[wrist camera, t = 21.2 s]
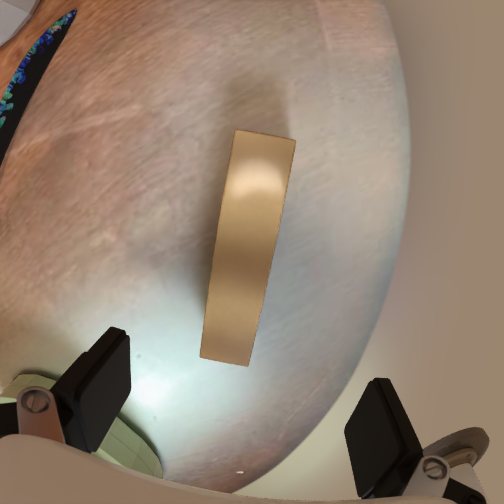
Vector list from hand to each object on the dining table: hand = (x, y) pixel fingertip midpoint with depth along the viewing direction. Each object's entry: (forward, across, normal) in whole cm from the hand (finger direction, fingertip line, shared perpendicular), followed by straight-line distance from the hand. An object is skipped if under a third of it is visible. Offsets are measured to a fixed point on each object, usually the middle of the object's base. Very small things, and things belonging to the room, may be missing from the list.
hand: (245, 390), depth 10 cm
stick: (+9, +1, -3) cm, 10 cm away
